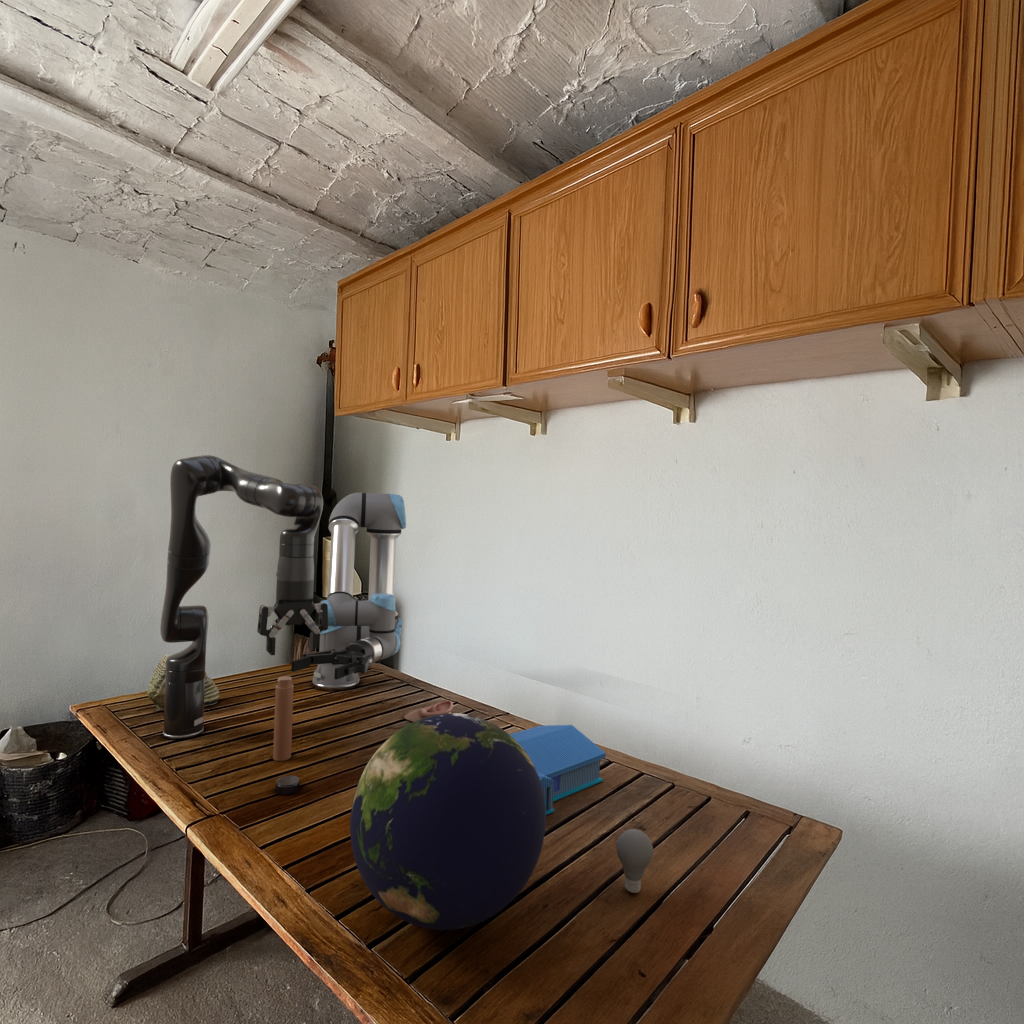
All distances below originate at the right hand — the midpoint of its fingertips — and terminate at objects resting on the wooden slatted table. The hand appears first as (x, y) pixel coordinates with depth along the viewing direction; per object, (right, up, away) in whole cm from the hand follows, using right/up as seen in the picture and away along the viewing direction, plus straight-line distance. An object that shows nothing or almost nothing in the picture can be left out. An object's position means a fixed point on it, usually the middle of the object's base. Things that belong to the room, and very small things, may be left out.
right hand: (313, 670), depth 162 cm
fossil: (-45, -16, +23) cm, 53 cm away
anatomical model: (+27, -19, +22) cm, 40 cm away
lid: (+3, -17, -26) cm, 31 cm away
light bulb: (+71, -23, -56) cm, 93 cm away
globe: (+40, -22, -64) cm, 78 cm away
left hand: (+4, +10, -26) cm, 29 cm away
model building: (+51, -21, -21) cm, 60 cm away
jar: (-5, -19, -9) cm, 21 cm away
